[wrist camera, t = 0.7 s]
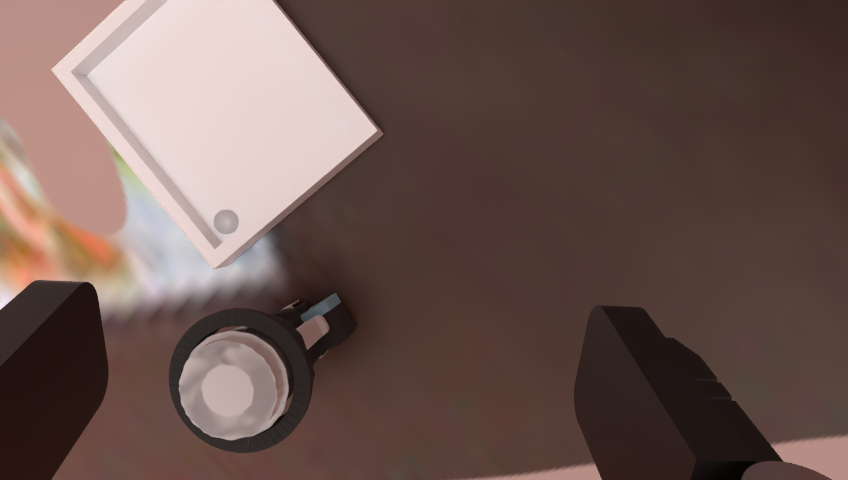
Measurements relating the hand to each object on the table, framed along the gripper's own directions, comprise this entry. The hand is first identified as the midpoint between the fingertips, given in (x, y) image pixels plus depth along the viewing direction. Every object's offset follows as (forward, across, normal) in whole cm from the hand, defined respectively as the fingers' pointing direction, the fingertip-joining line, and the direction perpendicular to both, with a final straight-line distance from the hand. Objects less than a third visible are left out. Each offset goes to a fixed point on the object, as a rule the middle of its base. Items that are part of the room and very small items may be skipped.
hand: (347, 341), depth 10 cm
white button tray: (+23, +7, +1) cm, 24 cm away
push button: (+19, +3, +12) cm, 23 cm away
